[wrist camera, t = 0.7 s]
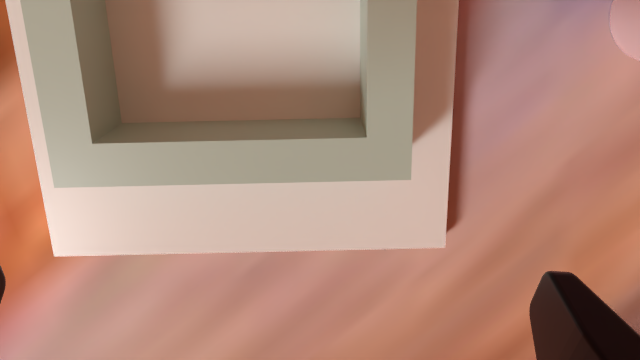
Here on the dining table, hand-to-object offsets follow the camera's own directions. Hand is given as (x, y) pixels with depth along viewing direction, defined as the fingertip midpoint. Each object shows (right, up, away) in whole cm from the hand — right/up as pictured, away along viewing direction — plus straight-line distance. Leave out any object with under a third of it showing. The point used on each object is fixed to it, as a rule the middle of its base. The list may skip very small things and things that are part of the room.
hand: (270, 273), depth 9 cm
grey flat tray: (-2, +8, +12) cm, 15 cm away
